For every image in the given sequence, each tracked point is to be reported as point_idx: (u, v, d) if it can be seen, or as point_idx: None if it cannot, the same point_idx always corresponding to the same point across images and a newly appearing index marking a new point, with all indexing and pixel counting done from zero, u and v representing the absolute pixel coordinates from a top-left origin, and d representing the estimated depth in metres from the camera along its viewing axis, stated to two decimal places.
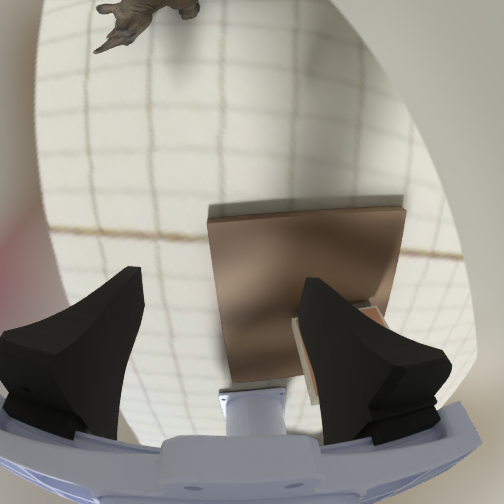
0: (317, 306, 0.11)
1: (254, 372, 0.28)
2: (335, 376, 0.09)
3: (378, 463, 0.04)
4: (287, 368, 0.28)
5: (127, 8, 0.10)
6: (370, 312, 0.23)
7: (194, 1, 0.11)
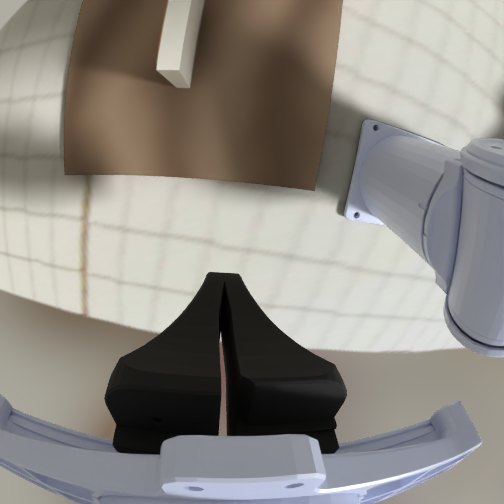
0: (225, 303, 0.10)
1: (299, 152, 0.18)
2: (229, 379, 0.08)
3: (378, 463, 0.04)
4: (306, 103, 0.17)
5: None
6: None
7: None
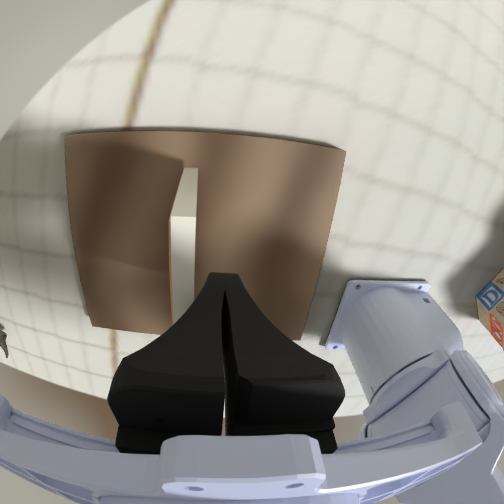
0: (224, 303, 0.10)
1: (288, 318, 0.23)
2: (227, 379, 0.08)
3: (378, 463, 0.04)
4: (296, 282, 0.21)
5: None
6: None
7: None
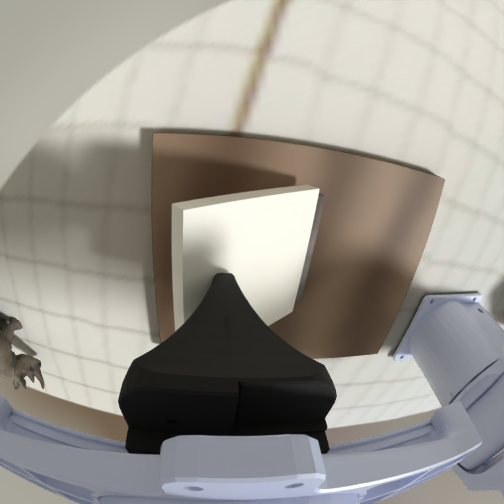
0: None
1: (373, 334, 0.22)
2: None
3: (378, 463, 0.04)
4: (387, 301, 0.20)
5: (13, 379, 0.17)
6: None
7: (4, 340, 0.17)
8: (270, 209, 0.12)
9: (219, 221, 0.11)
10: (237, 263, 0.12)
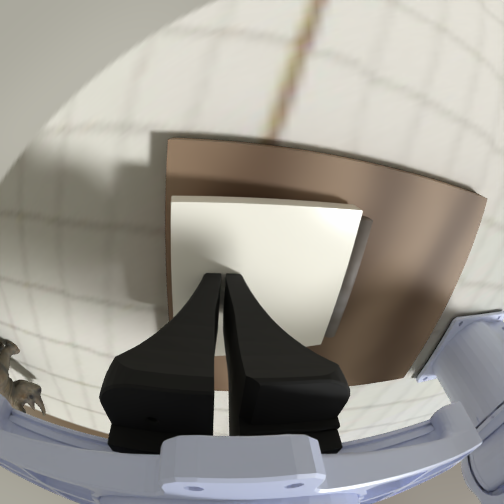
0: (227, 303, 0.10)
1: (402, 360, 0.19)
2: (232, 379, 0.08)
3: (378, 463, 0.04)
4: (420, 327, 0.17)
5: (12, 407, 0.14)
6: None
7: (0, 368, 0.14)
8: (283, 220, 0.11)
9: (213, 220, 0.11)
10: (238, 269, 0.12)
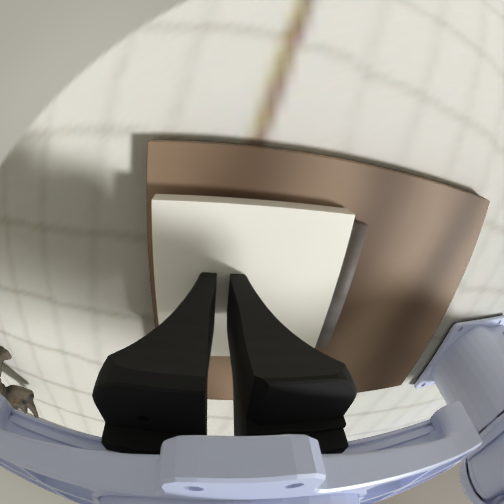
0: (232, 303, 0.10)
1: (399, 367, 0.18)
2: (237, 379, 0.08)
3: (378, 463, 0.04)
4: (419, 334, 0.17)
5: None
6: None
7: None
8: (266, 222, 0.11)
9: (192, 219, 0.10)
10: (219, 270, 0.12)
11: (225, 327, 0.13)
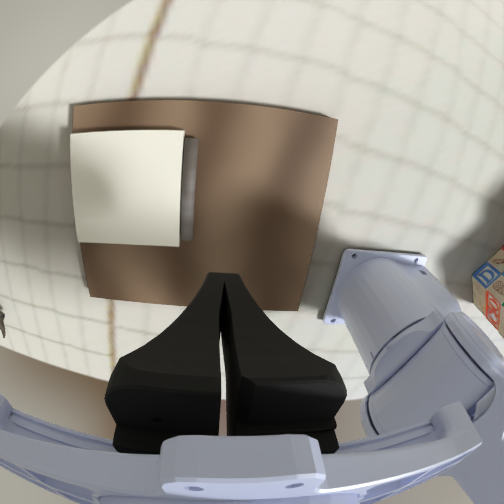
0: (225, 303, 0.10)
1: (285, 286, 0.23)
2: (229, 379, 0.08)
3: (378, 463, 0.04)
4: (292, 248, 0.22)
5: None
6: None
7: None
8: (127, 140, 0.16)
9: (89, 142, 0.15)
10: (104, 173, 0.17)
11: (112, 217, 0.18)
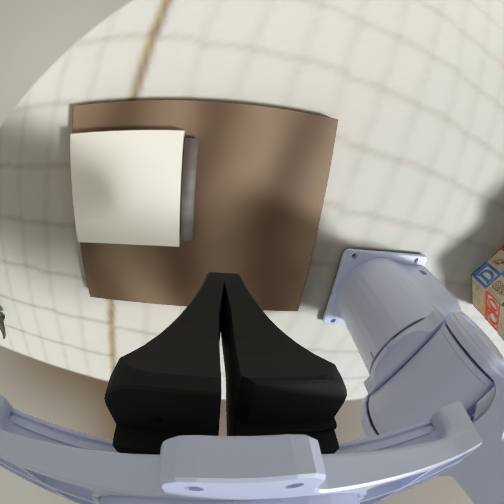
0: (225, 303, 0.10)
1: (285, 286, 0.23)
2: (229, 379, 0.08)
3: (378, 463, 0.04)
4: (292, 248, 0.22)
5: None
6: None
7: None
8: (127, 140, 0.16)
9: (89, 142, 0.15)
10: (104, 173, 0.17)
11: (112, 217, 0.18)
